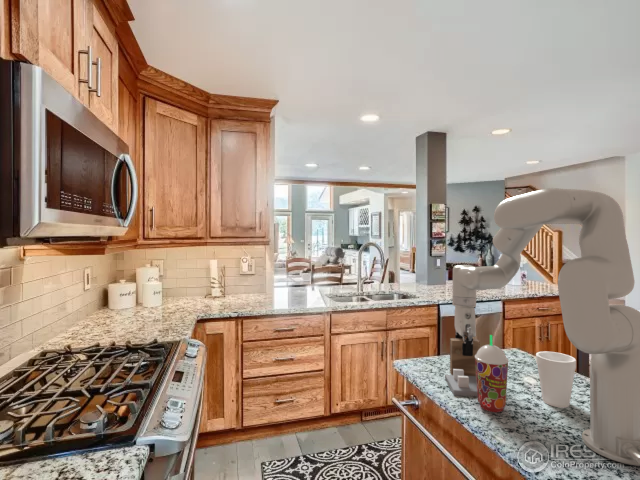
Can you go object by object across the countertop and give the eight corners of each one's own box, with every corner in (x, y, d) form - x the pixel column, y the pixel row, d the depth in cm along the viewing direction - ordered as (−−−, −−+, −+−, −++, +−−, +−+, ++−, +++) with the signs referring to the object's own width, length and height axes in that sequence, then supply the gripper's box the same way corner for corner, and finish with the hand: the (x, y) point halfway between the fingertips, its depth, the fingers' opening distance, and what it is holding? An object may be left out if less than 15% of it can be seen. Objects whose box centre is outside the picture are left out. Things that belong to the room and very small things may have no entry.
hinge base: (503, 397, 102) (503, 382, 102) (453, 395, 104) (453, 380, 104) (489, 381, 114) (489, 367, 114) (445, 379, 116) (445, 365, 116)
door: (481, 378, 117) (480, 342, 117) (452, 377, 118) (452, 341, 118) (477, 373, 121) (477, 339, 121) (450, 372, 122) (449, 338, 122)
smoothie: (489, 417, 91) (489, 340, 91) (468, 402, 99) (467, 332, 99) (516, 412, 94) (515, 338, 94) (492, 399, 102) (492, 330, 102)
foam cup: (568, 397, 103) (567, 352, 103) (582, 412, 94) (582, 363, 94) (531, 393, 105) (531, 350, 105) (542, 407, 96) (542, 360, 96)
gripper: (483, 306, 111) (483, 360, 111) (468, 296, 128) (468, 343, 129) (459, 306, 112) (458, 359, 113) (447, 296, 129) (446, 342, 130)
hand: (463, 350), depth 121 cm, fingers open, 9 cm apart
